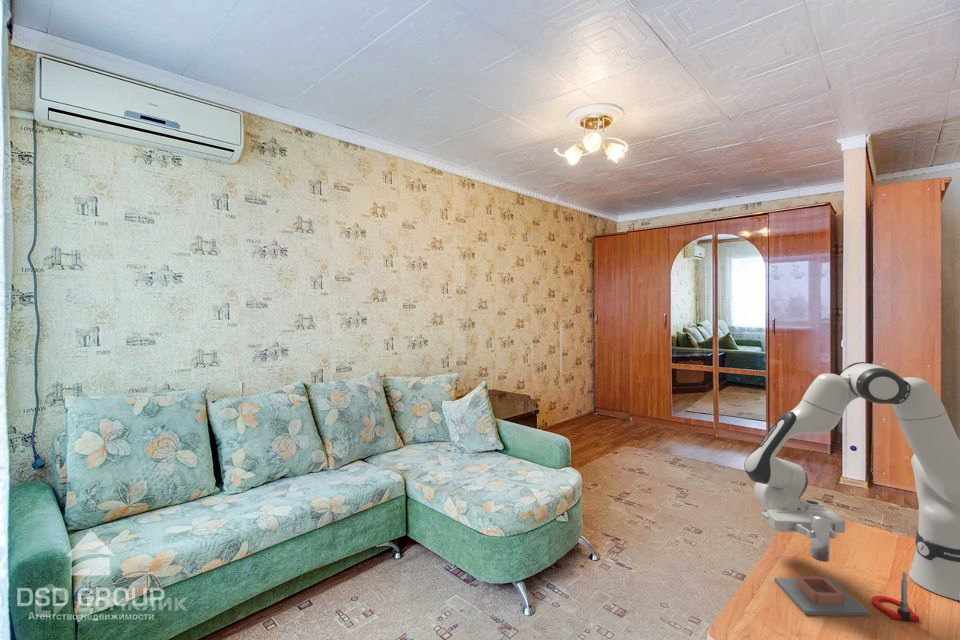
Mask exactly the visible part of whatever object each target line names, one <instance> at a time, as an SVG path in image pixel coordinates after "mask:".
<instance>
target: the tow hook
mask: <svg viewBox="0 0 960 640" xmlns="http://www.w3.org/2000/svg"><path fill="white" fill-rule="evenodd" d="M901 574H902V579H900V583H901V584H900V587H901V588H900V590H901V591H900V599H896V598H894V597H893V598H892V597H889V596H886V595H885V596H884V595H874V596H872V597H871V603H872V606H874V607H875V608H877V609H878V610H880V611H881V612H883V613H885V614H887V615H888V617H889V619H891V620H900V621H907V622H908V621H913V622H915V621H916V622H920V617H919V615H918V614H914V612H913V610H912V608H911V607H909V602H908V580H907V572H904V571H903V572H901ZM881 602H887V603H890V604H893V605H896V606H898V607H897V612H896V611H895V610H893V609H890V608H887V607H886V606H884V605H882V604H881Z"/></svg>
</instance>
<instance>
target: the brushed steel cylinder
mask: <svg viewBox="0 0 960 640" xmlns="http://www.w3.org/2000/svg"><path fill="white" fill-rule="evenodd" d="M811 530H812V531H813V532H814V533H815V535H814V536H815V538H810V549H809V550H810V557H811V558H812V559H814V560H816V561H818V562H822V563H823V562H824V563H826V562H829V561H830V553H831V538H830V531H831V519H830V518H829V517H828V516H826V515H823V514H818V513H814V514H812V520H811Z"/></svg>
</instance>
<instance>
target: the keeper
mask: <svg viewBox="0 0 960 640" xmlns="http://www.w3.org/2000/svg"><path fill="white" fill-rule="evenodd" d="M773 579H774V582H775V584H776V585H777V586H778V588H780V589H781V590H782V591H783V593H785V595H787V597H788V598H789V599H790V600H791V601H792V602H793V603H794V605H795V606H796V607H797V608H798V609H799V610H800V611H801V612H802V613H803V614H804V616H805V615H806V616H807V615H808V616H836V617H837V616H841V617H843V616H844V617H845V616H846V617H848V616H849V617H850V616H851V617H870V616H871V615H870V614H871V613H870V612H871V611H869V610H868V609H867V608H866V607H865V606H864V605H863V604H862V603H860V602H859V600H857V599H856V598H855V597H854V596H852V595H851V594H850V593H849V592H848V591H847V590H846V589H845V588H843V586H842V585H840V584H839V583H838V582H837V581H835V579H833V578H827V577H821V576H813V575H811V576H809V575H808V576H807V575H799V577H798V576H797V577H774V578H773Z"/></svg>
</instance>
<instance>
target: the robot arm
mask: <svg viewBox="0 0 960 640" xmlns="http://www.w3.org/2000/svg"><path fill="white" fill-rule="evenodd" d="M858 398H861V399H864V400H866V401H868V402H869V403H874V404H878V405H879V404H881V405H888V404H889V405H891V407H892V409H893V411H894V414H895V416H896V419H897V421H898V424H899V427H900V428H901V431H902V433H903V435H904V438H905V439H906V442H907V444H908V446H909V447H910V448H911V451H912V452H913V455H912V456H911V459H910V463H911V464H910V465H911V468H912V471H913V476H914V484H915V485H914V486H915V490H916V496H917V503H918V530H916V533H915V546H916V547H915V551H914V556H913V560H912V562H911V564H910V569H909V571H908V576H909V578H910V579H911V580H912V581H913V582H915V583H916V585H918V586H921V587H922V588H924V589H926V590H928V591H929V592H931V593H934V594H937V595H940V596H941V597H945V598H948V599H949V598H950V599H952V600H956V601H958V600H959V601H958V602H960V439H959V437H958V434H957V433H956V431H955V427H953V426H954V425H953V424H952V421H951V419H950V418H949V415H948V412H947V410H946V408H945V405H944V404H943V402H942V400H941V398H940V396H939V395H938V394H937V392H936V390H935V389H934V387H933V386H932V385H931V384H930V382H929V381H927V380H925V379H923V378H922V377H921V378H920V377H915V376H914V377H913V376H908V377H901V376H900V375H898V374H897V373H896V372H894V371H892V370H890V369H887V368H885V367H884V366H881V365H878V364H874V363H870V362H864V361H861V362H858V361H857V362H854V363H851V364H849V365H848V366H846V367H845V368H844V369H841V370H840V371H838V372H837V373H821V374H819V375H818V376H816V377H815V378H814V380H813V381H812V383H811V384H810V385H809V386H808V388H807V390H806V391H805V393H804V395H803V396H802V398H801V401H800V402H799V403H798V404H797V405H796V406H795V407H794V408H793V409H791V410H790V411H786V412H784V413H783V414H781V415H780V416H779V417H778V419H776V420H775V422H774V424H773V425H772V426H771V427H770V429H769V430H768V432H767V433H766V434H765V436H764V437H763V438H762V440H761V441H760V442H759V444H758V445H757V446H756V447H755V449H754V450H752V452H750V453H749V454H748V455H747V457H746V458H745V460H744V464H743V468H744V470H745V473H746V475H747V477H748V478H749V479H750V480H751V481H752V482H755V484H754V487H753V491H754V494H755V497H756V498H757V500H758V501H759V503H761V504H762V505H763V506H764V507H765V508H766V509H765V510H763V511H761V512H760V515H761V516H762V517H763V518H765V519H766V521H767V523H768V525H769V526H770V527H771V528H772V529H773V530H774V531H776V532H778V533H779V532H780V533H799V534H800V535H803V536H806V537H807V538H808V539H811V538H815V536H814V535H815V533H814V532H813V531H812V530H811V520H812V514H814V513H818V514H823V515H826V516H828V517H829V518H830V519H831V531H830V539H836V538H837V534H838V533H839V534H843V533H844V534H845V532H846V521H845V519H844V518H842V517H841V516H840V515H839V514H837V513H836V512H834V511H833V510H831V509H829V508H826V507H824V504H823V503H821V502H819V501H814V500H808V499H804V498H801V497H802V496H803V494H804V493H805V492H806V490H807V488H808V484H809V479H808V478H809V477H808V474H807V472H806V470H805V469H804V467H803V466H801V464H799V463H798V464H797V463H794V462H792V461H789V460H786V459H783V458H779V457H776V456H777V454H778V453H779V452H780V450H781V449H782V447H784V445H785V443H786V442H787V441H788V440H789V439H790V438H792V437H795V436H798V435H807V434H809V435H811V434H812V435H813V434H814V435H815V434H824V433H827V432H830V431H832V430H833V429H834V428H835V427H836V426H838V424H839V422H840V420H841V418H842V417H843V414H844V413H845V410H846V408H847V406H849V404H850V403H851V402H852V401H854V400H855V399H858Z"/></svg>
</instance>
